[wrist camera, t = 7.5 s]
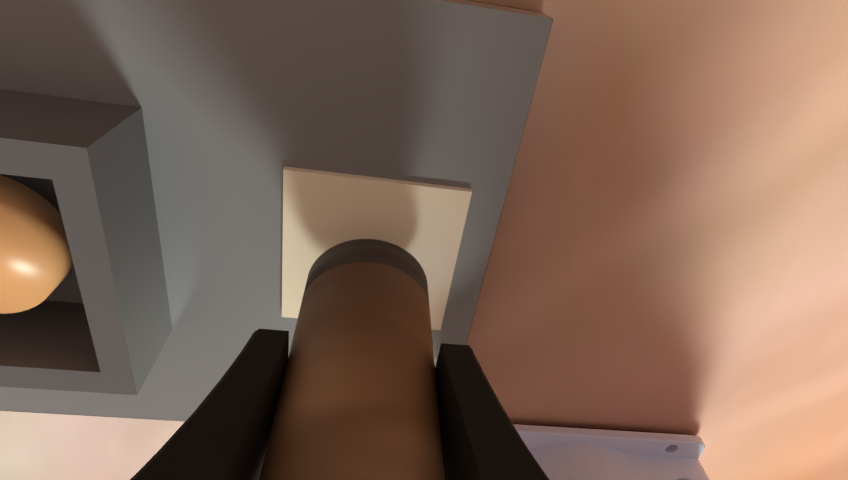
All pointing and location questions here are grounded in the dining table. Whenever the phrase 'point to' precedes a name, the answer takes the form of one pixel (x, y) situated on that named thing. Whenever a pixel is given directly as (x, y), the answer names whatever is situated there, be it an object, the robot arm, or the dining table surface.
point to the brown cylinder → (359, 373)
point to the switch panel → (244, 173)
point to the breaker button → (29, 248)
